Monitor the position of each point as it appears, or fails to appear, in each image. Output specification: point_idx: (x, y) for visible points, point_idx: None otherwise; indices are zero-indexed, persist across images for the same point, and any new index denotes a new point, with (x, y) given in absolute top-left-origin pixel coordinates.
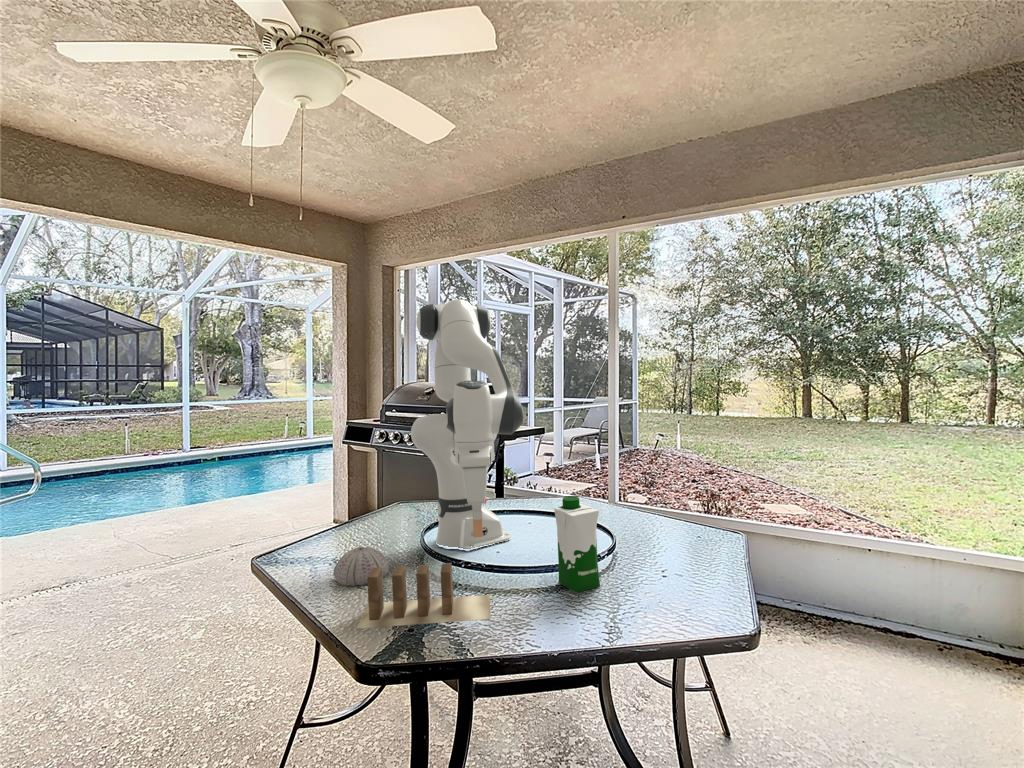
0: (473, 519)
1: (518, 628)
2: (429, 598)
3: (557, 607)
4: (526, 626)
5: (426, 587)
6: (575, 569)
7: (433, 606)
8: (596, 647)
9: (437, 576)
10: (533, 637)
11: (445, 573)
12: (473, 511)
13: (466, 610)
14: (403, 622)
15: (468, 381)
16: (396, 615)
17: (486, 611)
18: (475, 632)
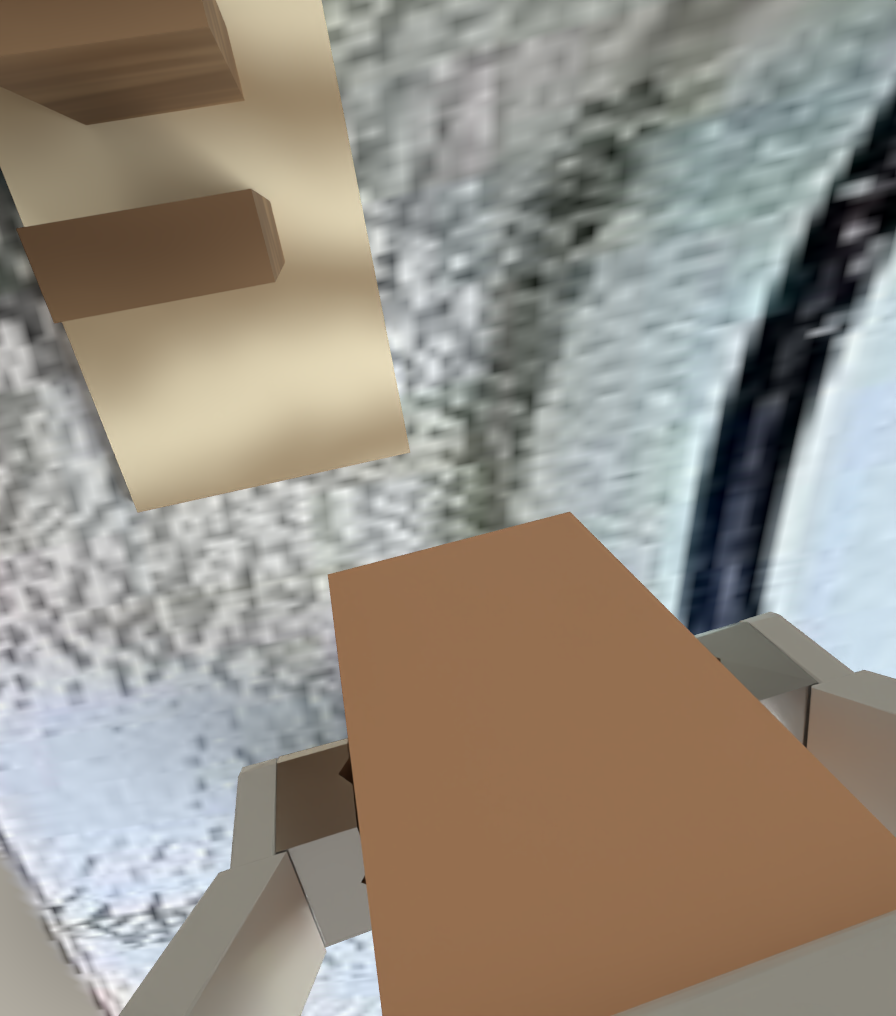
0: (346, 712)
1: (115, 631)
2: (205, 95)
3: (335, 740)
4: (142, 658)
5: (8, 89)
6: None
7: (229, 130)
8: (38, 894)
9: (724, 30)
10: (50, 700)
11: (40, 277)
12: (211, 894)
13: (207, 364)
14: None
15: None
16: None
17: (213, 475)
18: (24, 450)
